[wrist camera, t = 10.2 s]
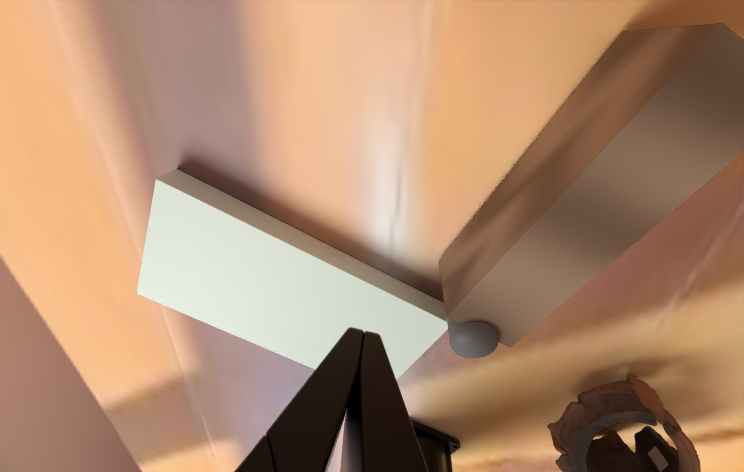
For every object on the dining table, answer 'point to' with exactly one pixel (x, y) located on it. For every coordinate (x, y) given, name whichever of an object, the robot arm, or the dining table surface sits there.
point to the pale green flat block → (273, 279)
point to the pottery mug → (610, 454)
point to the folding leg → (596, 180)
